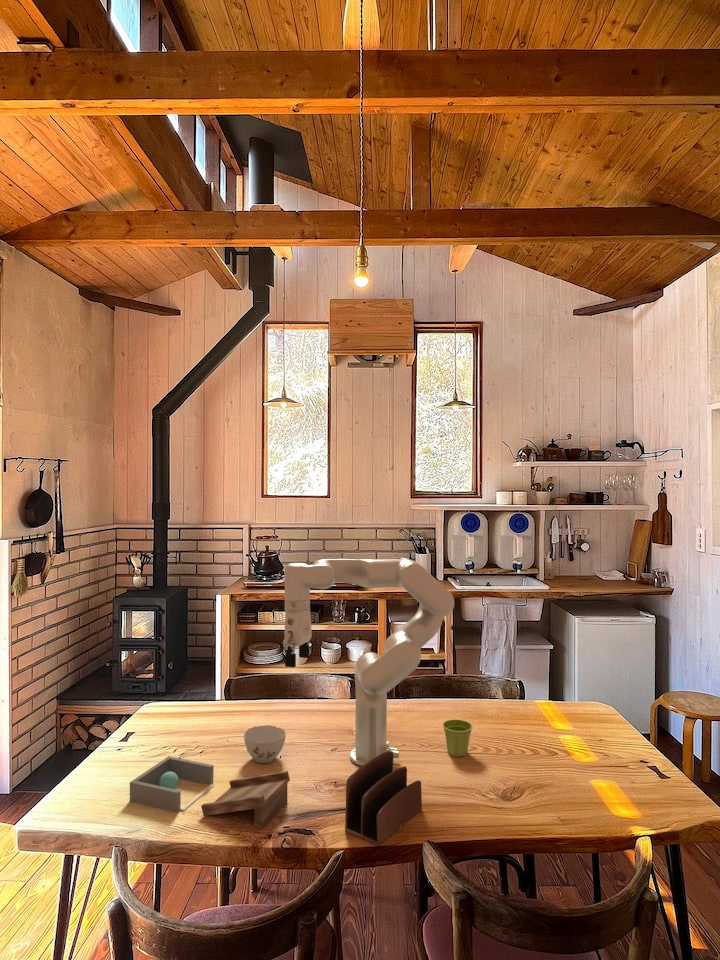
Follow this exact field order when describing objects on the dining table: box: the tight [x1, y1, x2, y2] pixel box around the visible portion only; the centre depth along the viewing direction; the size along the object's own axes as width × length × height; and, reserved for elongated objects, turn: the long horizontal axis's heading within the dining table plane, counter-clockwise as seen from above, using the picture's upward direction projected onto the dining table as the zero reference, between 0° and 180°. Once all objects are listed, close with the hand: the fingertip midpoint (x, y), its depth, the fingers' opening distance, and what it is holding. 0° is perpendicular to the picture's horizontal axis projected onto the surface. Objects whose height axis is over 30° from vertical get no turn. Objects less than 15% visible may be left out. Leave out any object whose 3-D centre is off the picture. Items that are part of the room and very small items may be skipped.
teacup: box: [243, 724, 287, 764], centre depth 185 cm, size 15×12×8 cm
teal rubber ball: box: [158, 772, 179, 790], centre depth 165 cm, size 5×5×5 cm
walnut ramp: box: [200, 770, 291, 829], centre depth 157 cm, size 18×14×8 cm
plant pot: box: [442, 718, 474, 758], centre depth 189 cm, size 9×9×9 cm
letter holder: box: [344, 751, 423, 847], centre depth 152 cm, size 10×20×14 cm, turn 143°
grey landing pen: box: [129, 756, 215, 813], centre depth 164 cm, size 16×16×5 cm
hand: (297, 662), depth 182 cm, fingers open, 9 cm apart
